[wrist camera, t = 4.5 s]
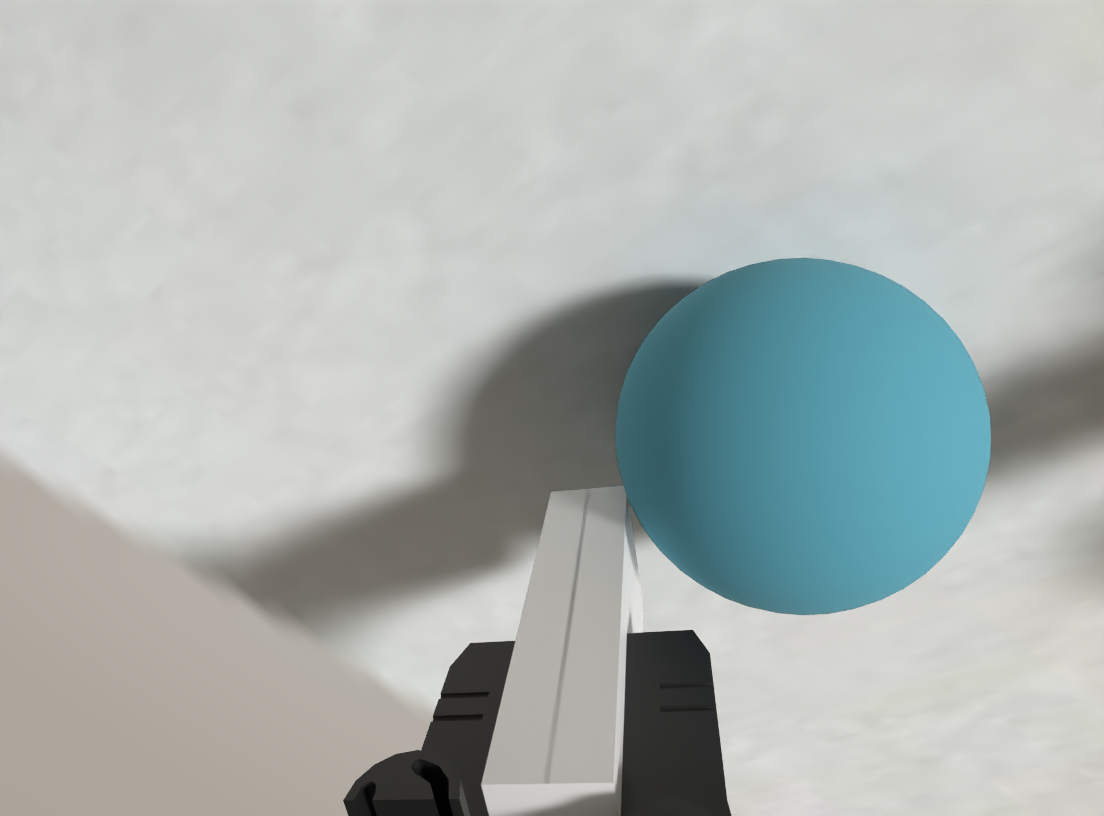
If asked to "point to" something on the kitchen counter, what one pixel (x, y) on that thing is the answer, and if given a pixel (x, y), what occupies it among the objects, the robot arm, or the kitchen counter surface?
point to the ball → (803, 436)
